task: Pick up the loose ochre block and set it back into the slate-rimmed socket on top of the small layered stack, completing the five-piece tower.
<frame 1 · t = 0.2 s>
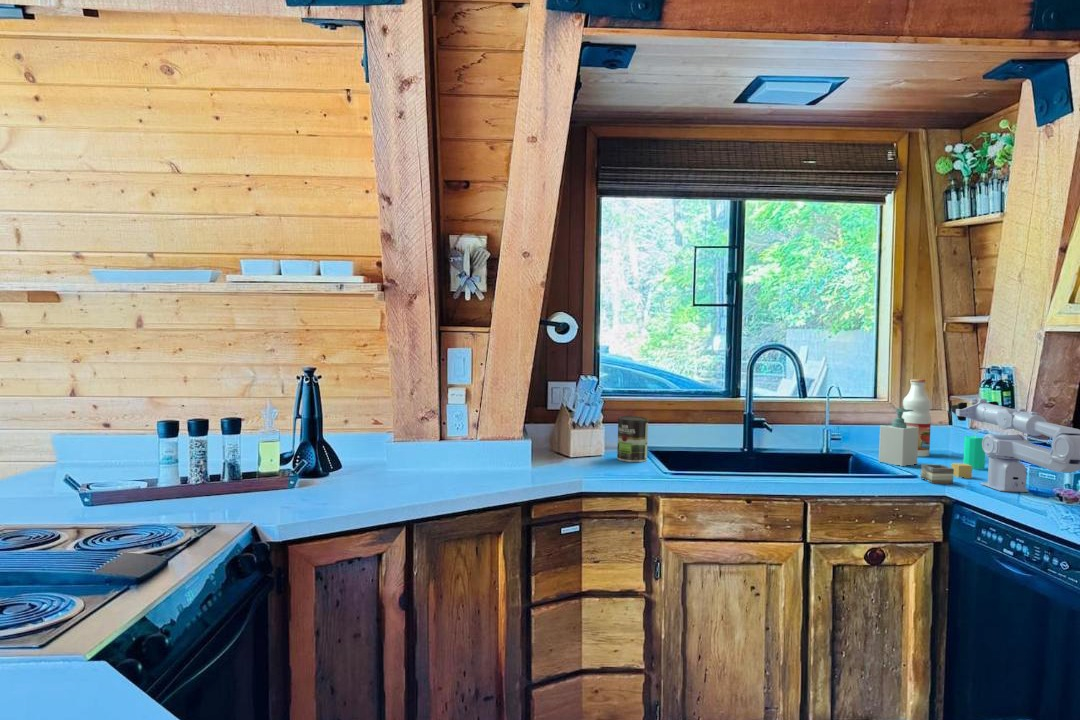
hand: (965, 408, 217), 21 cm above the countertop, tool horizontal, fingers open, 7 cm apart
soap bottle: (897, 464, 234), on the countertop
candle: (973, 468, 229), on the countertop
ochre block: (961, 477, 214), on the countertop
tower base: (936, 481, 206), on the countertop
coffee can: (632, 460, 232), on the countertop
fruit juice: (914, 455, 253), on the countertop
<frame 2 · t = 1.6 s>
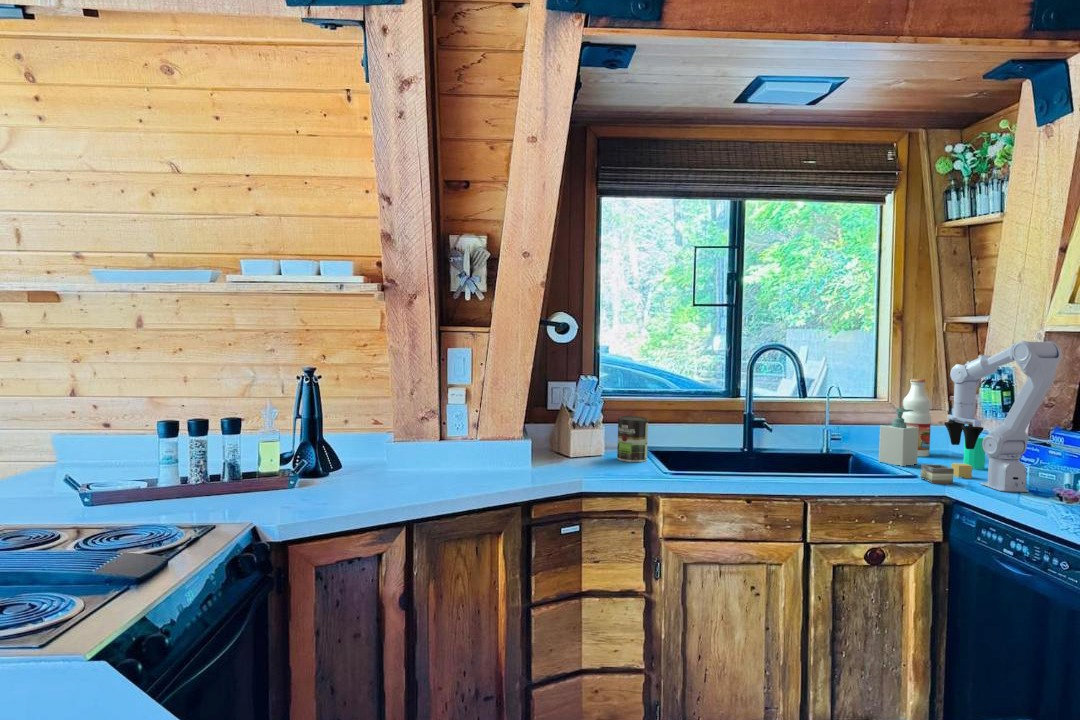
hand: (962, 446, 213), 9 cm above the countertop, tool pointing down, fingers open, 7 cm apart
nothing on the countertop moved.
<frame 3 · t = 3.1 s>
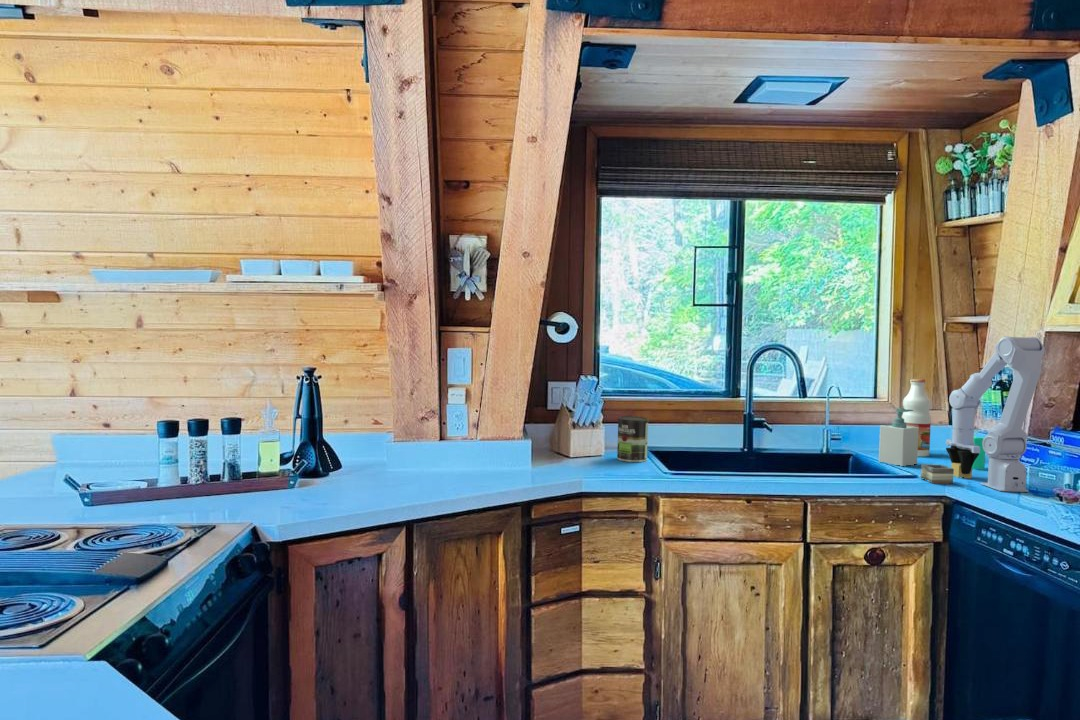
hand: (961, 472, 214), 1 cm above the countertop, tool pointing down, fingers closed on ochre block, 4 cm apart
ochre block: (961, 476, 214), on the countertop, touching gripper
everything else where it was.
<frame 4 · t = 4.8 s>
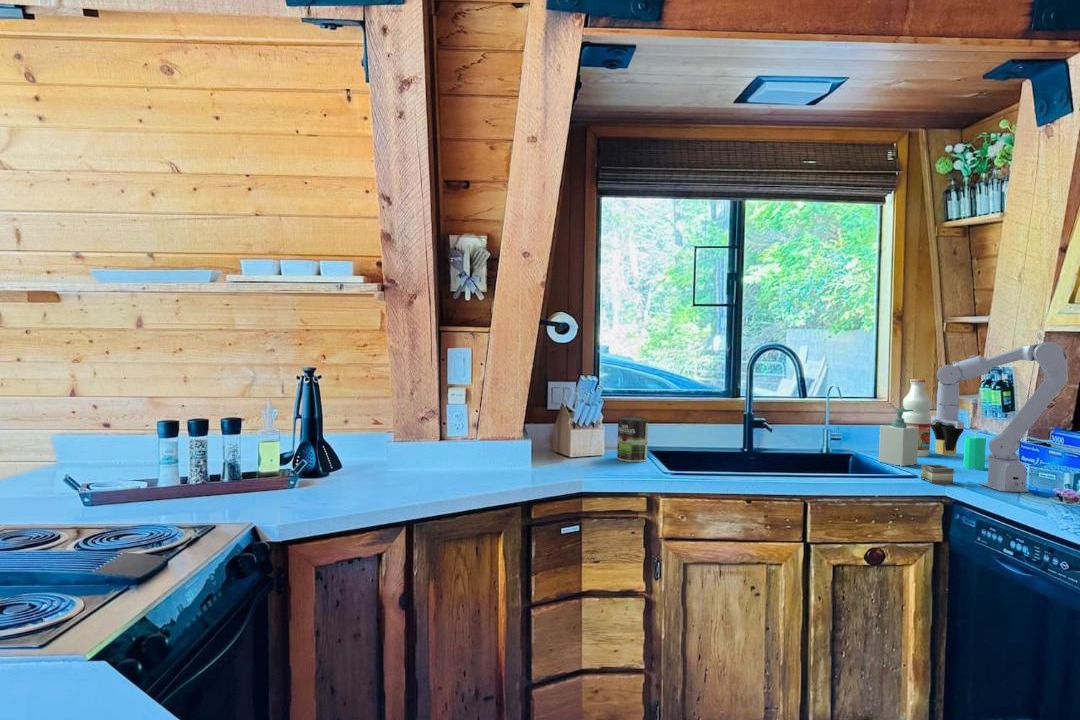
hand: (945, 449, 208), 9 cm above the countertop, tool pointing down, fingers closed on ochre block, 4 cm apart
ochre block: (945, 453, 208), point 8 cm above the countertop, touching gripper
everything else where it was.
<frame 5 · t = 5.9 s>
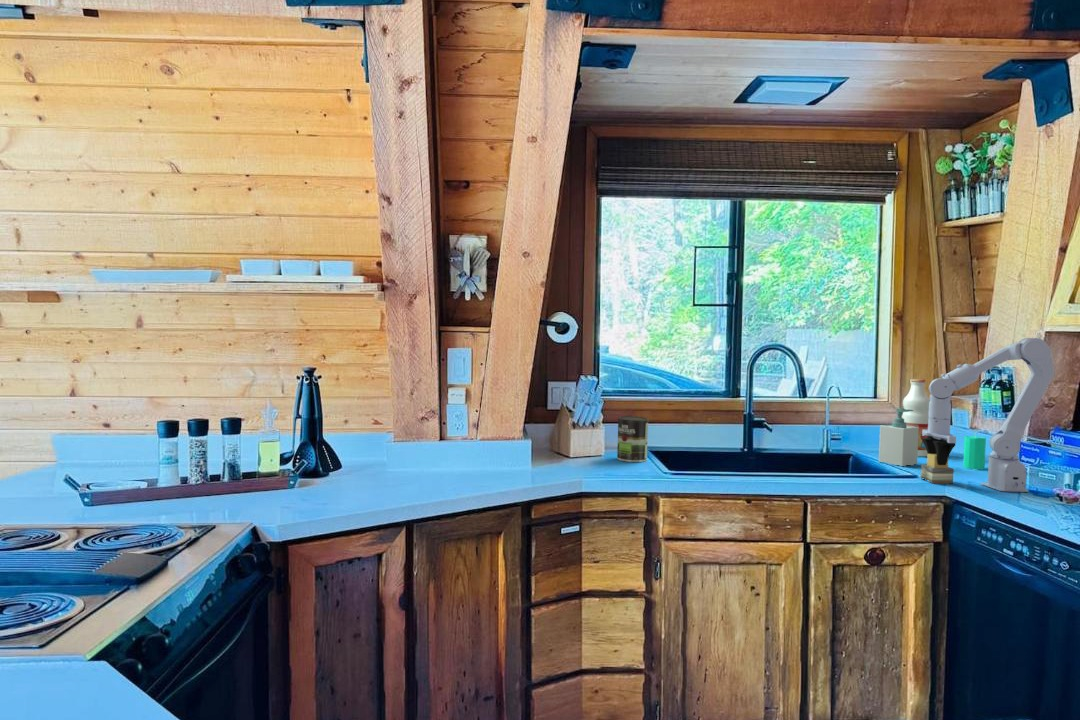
hand: (937, 463, 206), 5 cm above the countertop, tool pointing down, fingers closed on ochre block, 4 cm apart
ochre block: (937, 468, 206), point 4 cm above the countertop, touching gripper
everything else where it was.
when the fingers open (5 cm above the countertop, at t = 6.7 s): ochre block stays where it is, resting on tower base.
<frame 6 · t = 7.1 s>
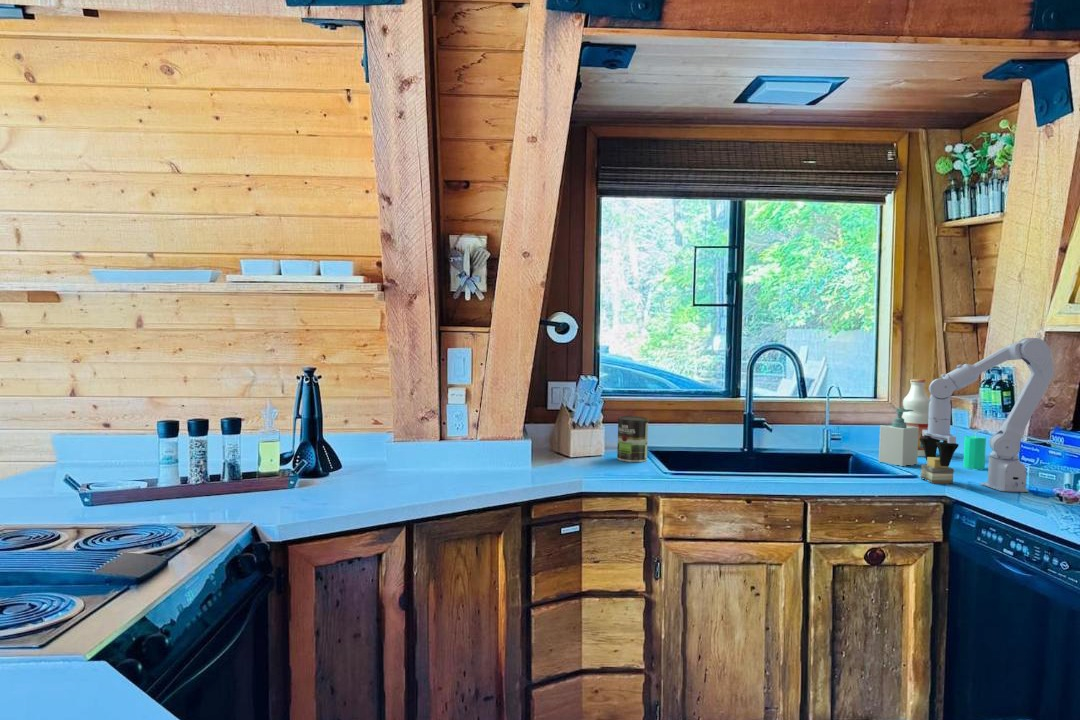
hand: (937, 463, 206), 5 cm above the countertop, tool pointing down, fingers open, 7 cm apart
ochre block: (937, 471, 206), point 3 cm above the countertop, touching tower base
everything else where it was.
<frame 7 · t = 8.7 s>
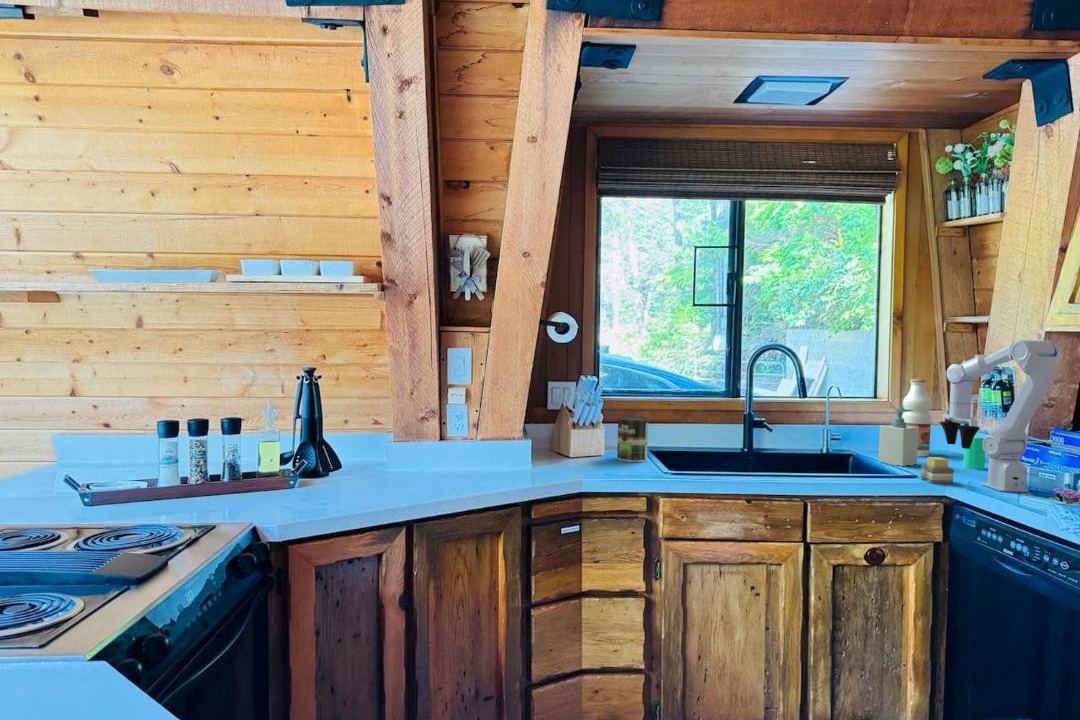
hand: (958, 446, 214), 9 cm above the countertop, tool pointing down, fingers open, 7 cm apart
nothing on the countertop moved.
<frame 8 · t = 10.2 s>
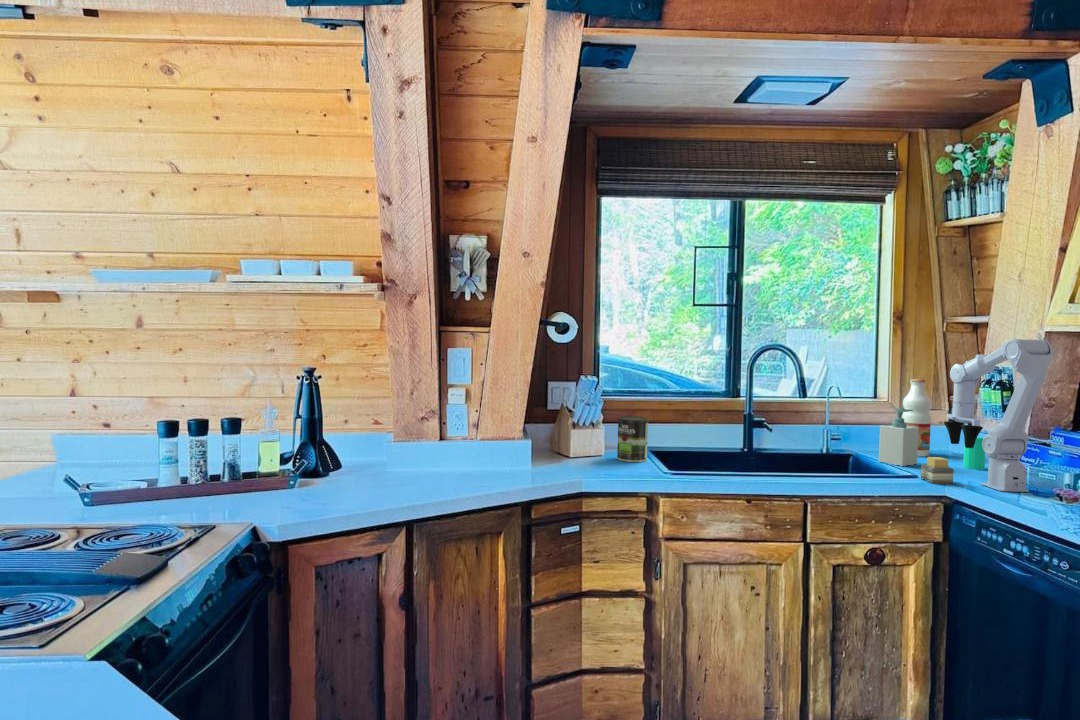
hand: (961, 445, 215), 9 cm above the countertop, tool pointing down, fingers open, 7 cm apart
nothing on the countertop moved.
at the end: ochre block 0.0 cm off-centre on the tower base, point 3.0 cm above the tower base's base; ochre block tilted 0°; the gripper is holding nothing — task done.
